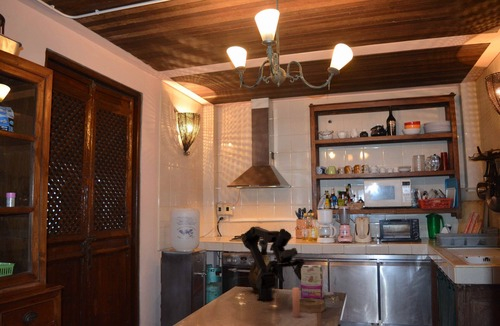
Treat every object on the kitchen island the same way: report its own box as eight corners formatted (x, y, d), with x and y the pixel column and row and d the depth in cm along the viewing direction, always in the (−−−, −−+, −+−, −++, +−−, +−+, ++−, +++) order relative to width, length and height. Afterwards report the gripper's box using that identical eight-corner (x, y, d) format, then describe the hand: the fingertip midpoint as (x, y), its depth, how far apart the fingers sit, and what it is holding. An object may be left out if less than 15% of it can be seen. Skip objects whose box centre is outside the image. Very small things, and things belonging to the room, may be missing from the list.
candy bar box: (323, 297, 206) (322, 265, 208) (322, 299, 201) (321, 266, 203) (302, 295, 209) (301, 264, 211) (300, 297, 205) (300, 265, 206)
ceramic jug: (274, 295, 209) (274, 238, 213) (245, 294, 213) (246, 237, 216) (278, 289, 226) (278, 236, 229) (251, 288, 229) (252, 235, 233)
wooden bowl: (293, 310, 180) (293, 302, 181) (303, 304, 191) (303, 297, 191) (318, 314, 174) (318, 305, 175) (327, 307, 185) (327, 300, 185)
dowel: (291, 316, 171) (291, 288, 172) (294, 315, 173) (294, 287, 174) (298, 317, 169) (297, 289, 170) (300, 316, 172) (300, 287, 173)
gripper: (268, 243, 182) (281, 272, 171) (302, 241, 190) (316, 268, 179) (260, 257, 188) (272, 286, 178) (293, 255, 197) (306, 282, 186)
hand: (292, 280), depth 180 cm, fingers open, 9 cm apart
